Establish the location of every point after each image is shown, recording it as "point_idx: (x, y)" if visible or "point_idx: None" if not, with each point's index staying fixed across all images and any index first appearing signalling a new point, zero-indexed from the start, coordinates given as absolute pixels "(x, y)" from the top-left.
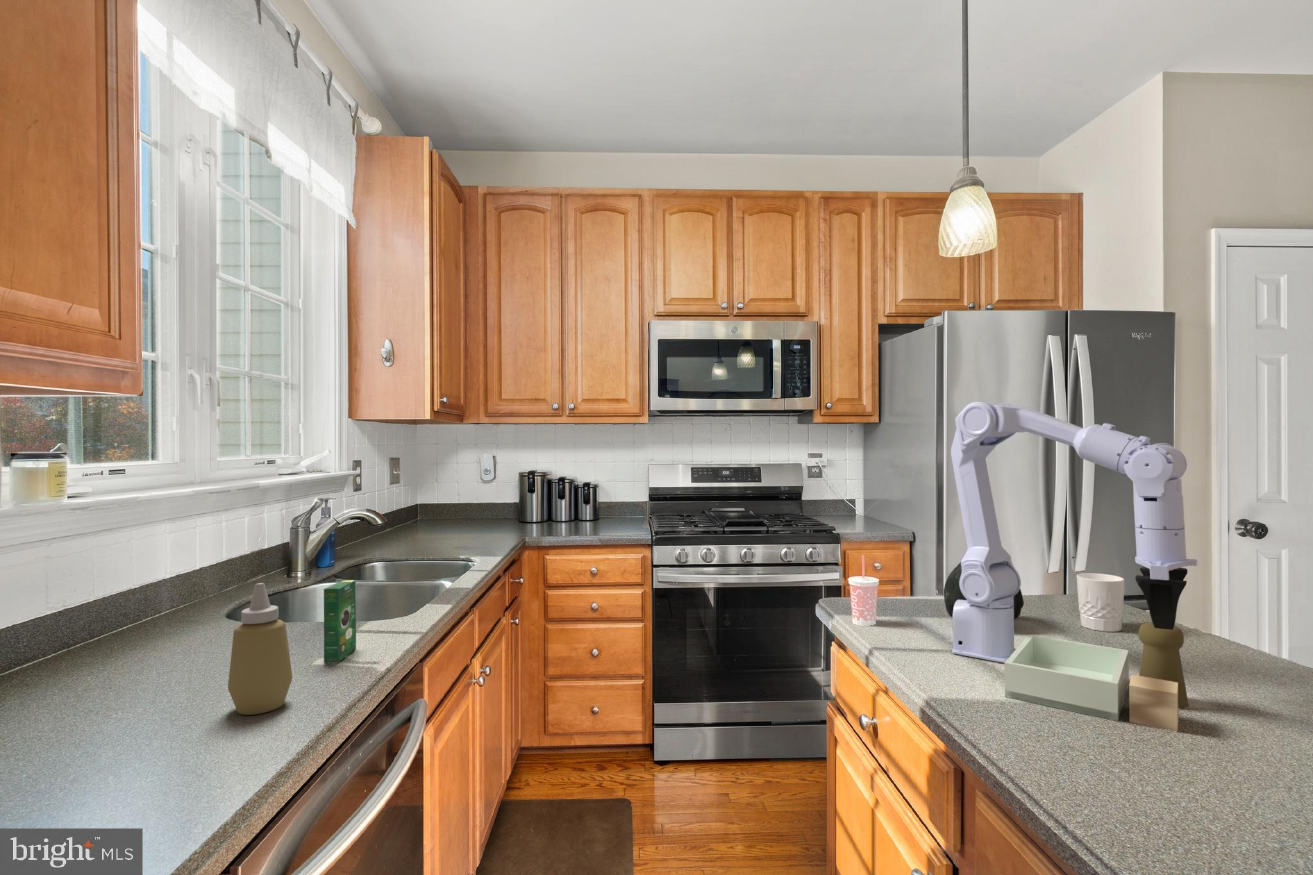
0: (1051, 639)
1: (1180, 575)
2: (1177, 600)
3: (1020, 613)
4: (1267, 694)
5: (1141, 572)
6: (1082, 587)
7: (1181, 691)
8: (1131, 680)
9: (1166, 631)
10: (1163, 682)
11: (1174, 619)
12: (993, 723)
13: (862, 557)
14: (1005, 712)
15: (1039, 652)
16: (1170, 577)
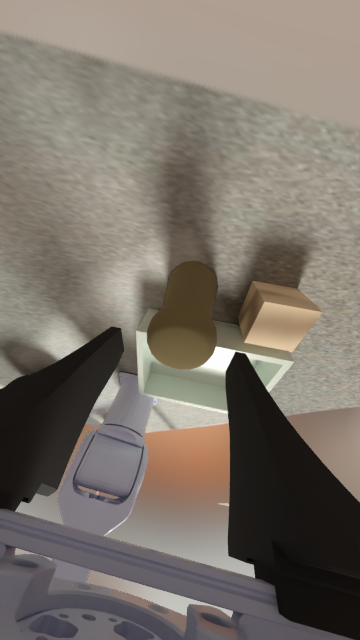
0: (143, 383)
1: (3, 449)
2: (301, 439)
3: (31, 374)
4: (72, 127)
5: (60, 481)
6: None
7: (208, 277)
8: (272, 347)
9: (211, 346)
10: (269, 317)
11: (256, 373)
12: (304, 398)
13: (98, 492)
14: (278, 391)
15: (148, 376)
16: (36, 445)
